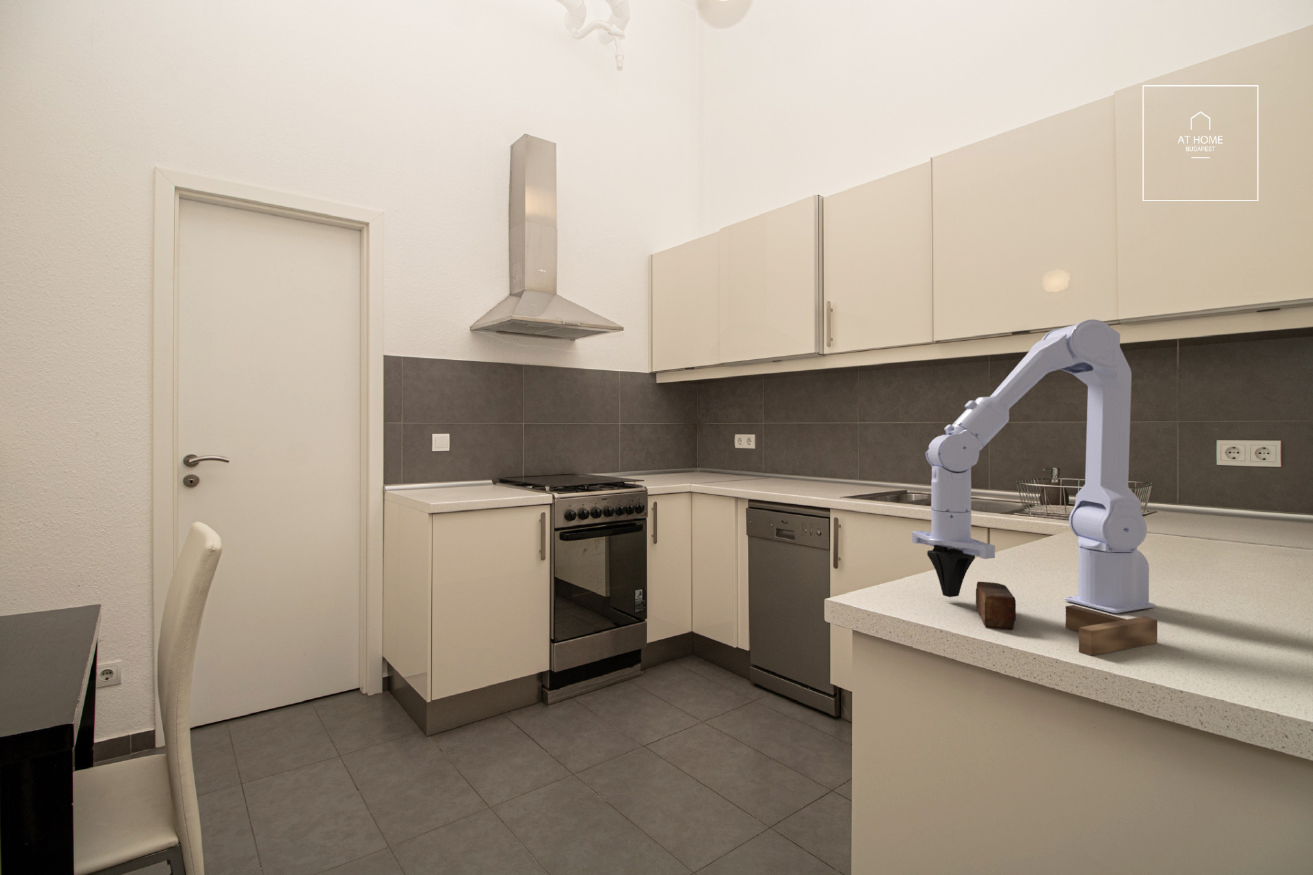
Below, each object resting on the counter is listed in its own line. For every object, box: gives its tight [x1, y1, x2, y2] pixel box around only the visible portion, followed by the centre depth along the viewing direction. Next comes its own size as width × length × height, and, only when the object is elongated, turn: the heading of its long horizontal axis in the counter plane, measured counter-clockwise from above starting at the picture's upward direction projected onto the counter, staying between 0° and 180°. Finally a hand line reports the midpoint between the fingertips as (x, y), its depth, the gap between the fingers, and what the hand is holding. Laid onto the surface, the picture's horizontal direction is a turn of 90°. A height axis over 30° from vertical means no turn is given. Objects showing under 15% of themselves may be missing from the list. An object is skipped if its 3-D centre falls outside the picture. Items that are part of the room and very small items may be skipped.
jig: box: [1065, 604, 1158, 657], centre depth 82 cm, size 12×8×3 cm
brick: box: [975, 581, 1017, 631], centre depth 91 cm, size 11×4×5 cm, turn 159°
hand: (950, 595), depth 99 cm, fingers closed
